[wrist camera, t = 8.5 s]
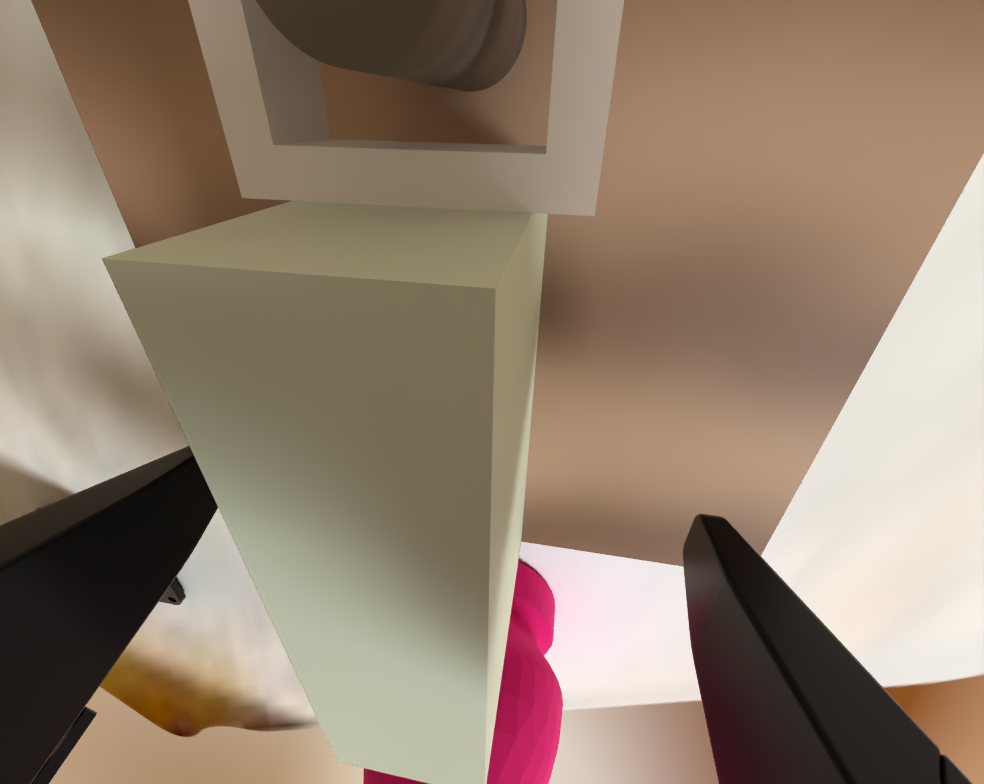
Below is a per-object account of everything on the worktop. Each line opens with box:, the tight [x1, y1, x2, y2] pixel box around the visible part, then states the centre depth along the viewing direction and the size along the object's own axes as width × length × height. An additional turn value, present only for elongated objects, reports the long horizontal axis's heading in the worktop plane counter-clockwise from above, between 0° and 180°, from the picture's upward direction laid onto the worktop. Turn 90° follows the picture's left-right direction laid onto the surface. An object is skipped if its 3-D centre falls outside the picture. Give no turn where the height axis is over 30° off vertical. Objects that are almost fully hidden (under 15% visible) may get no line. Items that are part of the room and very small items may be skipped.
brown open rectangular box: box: [31, 0, 984, 566], centre depth 9 cm, size 14×16×8 cm
